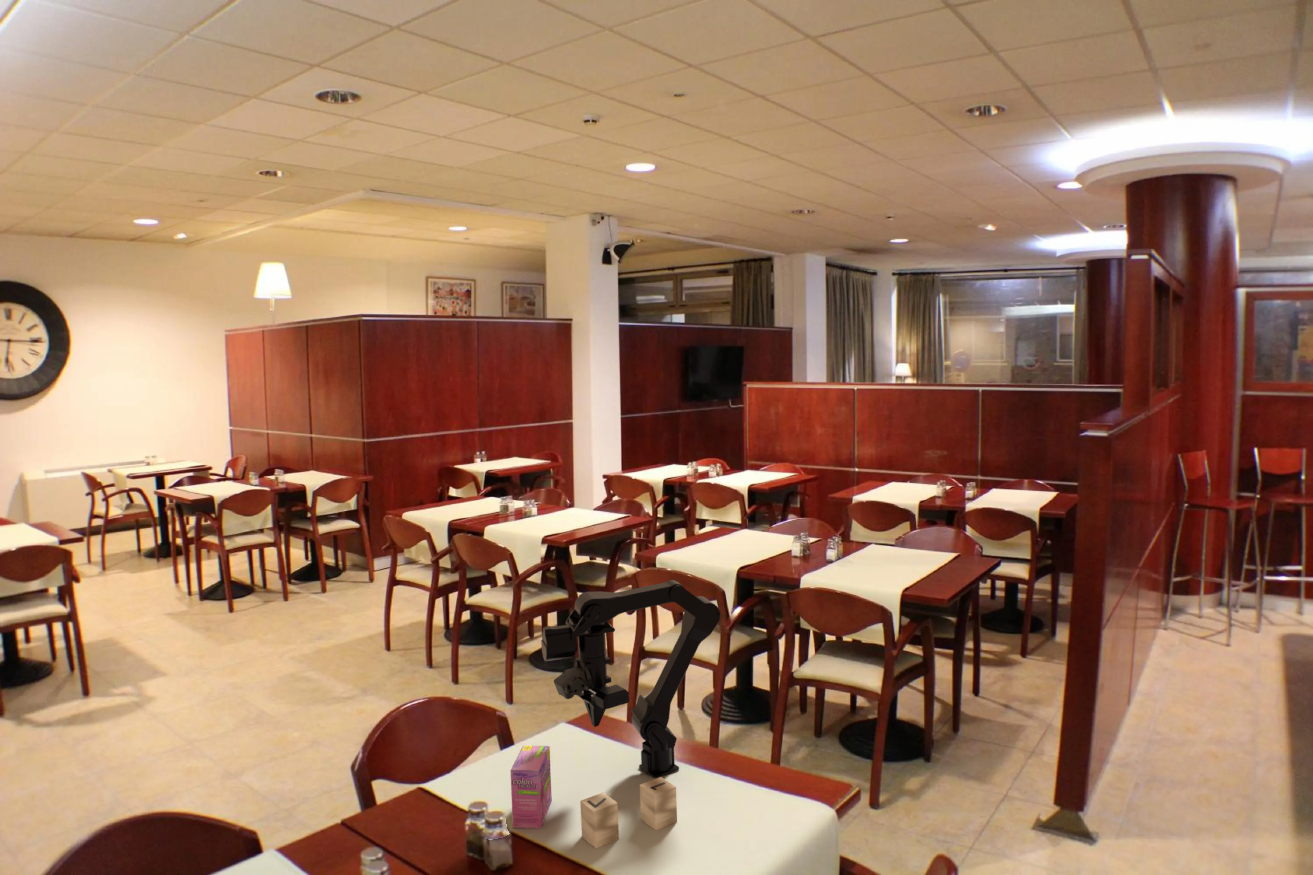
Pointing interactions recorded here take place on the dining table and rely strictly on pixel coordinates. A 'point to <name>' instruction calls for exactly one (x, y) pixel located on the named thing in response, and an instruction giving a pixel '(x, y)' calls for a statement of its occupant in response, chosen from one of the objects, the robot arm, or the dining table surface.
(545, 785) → the box
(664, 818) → the block one
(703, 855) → the dining table surface
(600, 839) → the block seven
